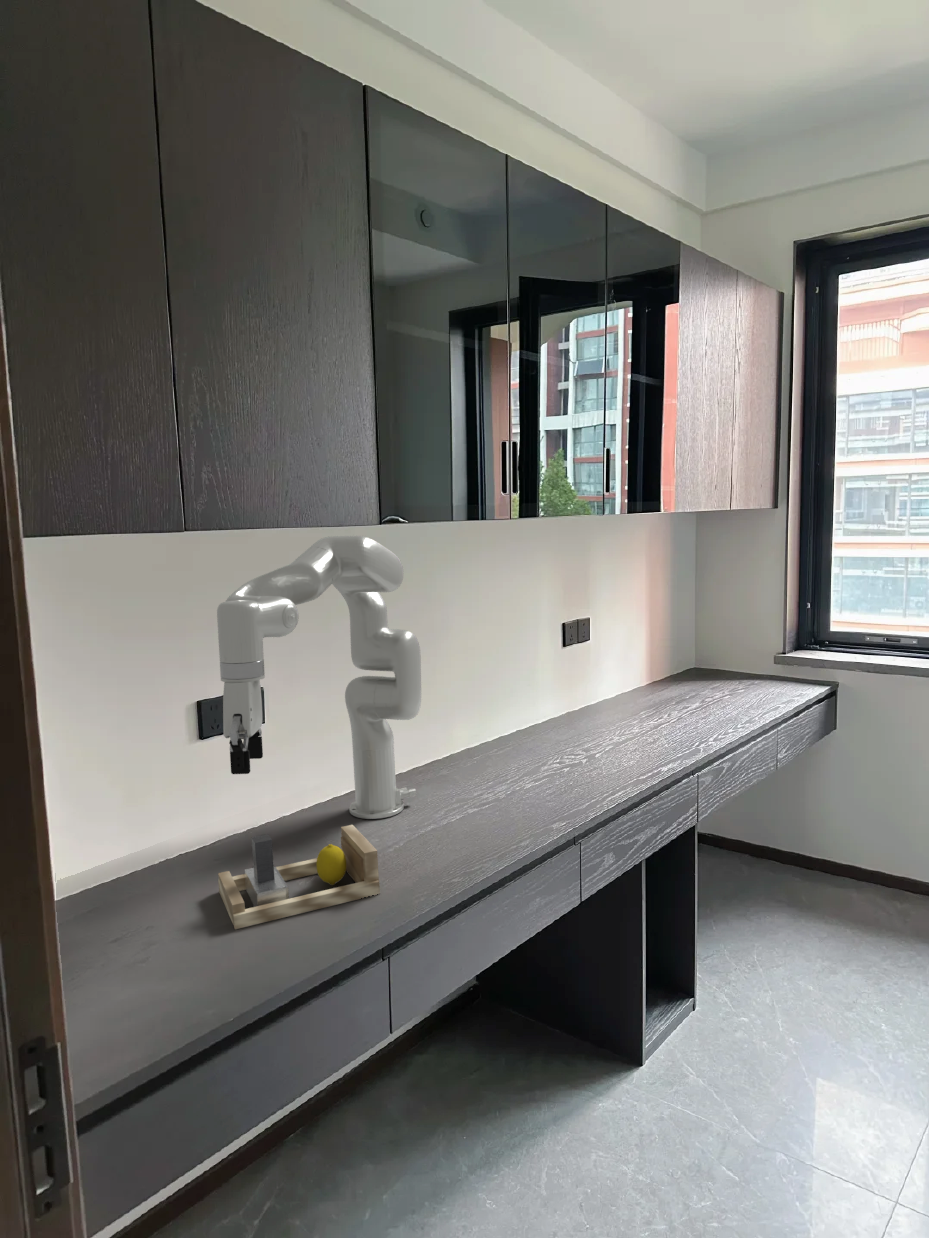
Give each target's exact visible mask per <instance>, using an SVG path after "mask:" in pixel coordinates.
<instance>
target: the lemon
mask: <svg viewBox="0 0 929 1238" xmlns="http://www.w3.org/2000/svg"><path fill="white" fill-rule="evenodd" d="M316 858H317V872H318V873H317V875H318V877H319V878H320V880H321V881H323V882H324V883H327V884H329V885H330V886H334V885H336V884H337V883H338V882H340V881H341V880H342V879H343V877H344V876H345V874H346V873H347V871H346V858H345V855H344V853H343V851H342V850H341V847H339V846H337V845H334V844H332V843H329V844H327V845H326V846H324V847H322V849H321V850H320V851H319V853H318V854H317V857H316Z"/></svg>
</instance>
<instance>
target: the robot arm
mask: <svg viewBox="0 0 929 1238" xmlns="http://www.w3.org/2000/svg"><path fill="white" fill-rule="evenodd" d="M403 580H404V567H403V563H402V562H401V560H400V558H399V557H398V555H397V554H395V553H394V552H393V551H391V550H390V549H389V548H387V547H386V546H384V545H383V544H381V543H379V542H378V541H376V540H374V539H372V538H371V537H368V536H366V535H365V536H364V535H331V536H327V537H323V538H320V539H318V540H317V541H316V542H314V543H313V544H312V545H311V546H310V547H308V548H307V549H305V551H303V552H302V553H301V554H300V556H298V557H297V558H295V560H293V561H292V562H291V563H289V564H288V565H284V566H282V567H279V568H277V569H274V570H272V571H269V572H267V573H265V574H262V575H260V576H257V577H255V578H252V579H250V580H248V581H247V582H245V583H243V584H242V585H241V586H240V587H238V588H237V589H235V590H234V591H233V592H232V593H231V594H230V595H229V597H227V598H226V600H225V601H223V602H221V603H219V604H218V607H217V609H216V619H217V634H218V636H217V637H218V638H217V639H218V655H219V656H218V657H219V670H220V671H219V673H220V681H221V682H223V683H224V684H223V694H222V695H223V696H222V697H223V698H222V703H223V704H222V707H223V708H222V711H223V713H222V719H223V720H222V721H223V723H222V725H223V726H222V729H223V730H222V731H223V737H224V738H226V739H229V761H230V773H231V774H232V775H248V774H250V773H251V760H257V759H258V760H259V759H262V758H263V757H264V755H263V753H264V752H263V737H262V735H263V734H262V729H261V728H262V726H263V699H262V691H261V689H262V688H261V680H263V679H265V677H266V676H265V673H266V672H265V659H264V656H265V655H264V641H263V640H264V638H281V637H286V636H287V635H289V634H291V633H293V632H294V630H295V628H296V627H297V625H298V624H299V617H300V616H299V614H300V613H299V610H298V607H297V606H298V605H301V604H305V603H309V602H312V601H314V600H317V599H318V598H319V597H320V596H321V595H323V593H324V592H325V591H326V590H327V589H328V588H329V587H330V586H333V587H334V588H335V589H336V590H337V591H338V592H339V593H340V595H341V596H342V598H343V599H344V600H345V602H346V606H347V608H348V612H349V627H350V628H349V629H350V630H349V632H350V634H349V635H350V655H351V656H350V657H351V662H352V664H353V665H354V666H355V668H357V669H359V670H364V671H370V672H371V671H373V672H374V671H375V672H393V674H394V676H393V677H392V676H383V675H382V676H380V675H379V676H378V675H363V676H357V677H355V678H353V679H352V680H350V681H349V682H348V684H347V686H346V688H345V692H344V702H345V706H346V710H347V713H348V718H349V724H350V729H351V732H350V733H351V742H352V743H351V744H352V746H351V747H352V758H353V759H352V761H353V762H352V763H353V777H354V780H353V781H354V793H355V797H354V798H355V800H354V801H353V802H351V803H350V805H349V813H350V815H352V816H353V817H356V818H357V819H358V818H359V819H366V820H378V819H385V818H390V817H393V816H395V815H398V814H399V813H400V812H402V811H403V810H404V805H405V803H404V800H405V799H406V798H409V799H410V798H414V797H417V789H416V788H409V789H408V787H406V786H405V787H401V788H398V786H397V782H396V778H397V777H396V764H395V763H396V761H395V741H394V739H395V738H394V734H393V730H392V727H391V726H390V724H389V723H388V721H387V720H395V721H396V720H397V721H409V720H410V721H411V720H413V719H414V718H416V716H417V715H418V714H419V712H420V709H421V704H422V662H421V661H422V660H421V659H422V657H421V647H420V642H419V640H418V638H417V636H416V635H415V633H413V632H412V631H410V630H406V629H397V628H396V629H394V628H389V624H388V609H387V604H386V602H385V599H384V598H383V595H381V593H390V592H395V591H396V590H398V589H399V588H400V586H401V585H402V584H403V583H402V582H403Z"/></svg>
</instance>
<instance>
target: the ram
mask: <svg viewBox="0 0 929 1238" xmlns="http://www.w3.org/2000/svg"><path fill="white" fill-rule="evenodd" d="M251 848H252V850H251V851H252V863H253V867H251V868H246V869H244V874H245V883H246V893H247V895H248V897H249V899H250V901H251V903H252V905H253V907H256V906H260V905H265V904H269V903H273V902H277V901H282V900H286V899H290V895H289V894H290V893H289V886H288V884H287V882H286V881H284V879H283V878H282V876H281V875H280V873H279V871H278V870H277V868H276V867H277V866H275V864H274V854H273V853H274V851H273V839H272V838H271V836H270V835H269V834H268V833H267V834H262V835H256V836H252V837H251Z"/></svg>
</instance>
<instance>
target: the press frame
mask: <svg viewBox="0 0 929 1238" xmlns="http://www.w3.org/2000/svg"><path fill="white" fill-rule="evenodd" d="M340 834H341V836H340V846H341V847H340V849H341V850H342V851H343V853H344V855H345V858H346V873H348V875H349V876H350V877H351V879H352V880H353V881H354V882H355V883H350V884H346V885H341V886H338V887H337V886H336V887H333V888H329V889H325V890H324V889H323V890H320V891H317V892H316V891H315V892H312V893H307V894H304V895H300V896H295V897H289V899H286V900H282V901H277V902H273V903H269V904H265V905H260V906H256V907H254V906H253V907H249V908H246V907H245V905H246V904H245V901H244V899H243V896H242V894H241V893H240V892H241V891H245V890H246V883H245V873H244V874H237V875H233V876H232V873H231V872H230V870H226V871H222V872H218V874H217V876H218V880H217V883H218V892H219V894H220V898H221V900H222V902H223V904H224V907H225V909H226V912H227V913H228V916H229V918H230V921H231V923H232V925H233V927H234V928H233V929H234V930H238V929H243V928H247V927H250V926H255V925H259V924H262V923H266V922H268V923H269V922H272V921H275V920H279V919H284V918H286V917H288V918H289V917H291V916H292V917H293V916H295V915H300V914H304V913H307V912H311V911H312V912H313V911H315V910H321V909H323V908H327V907H328V908H329V907H333V906H336V905H340V904H345V903H348V902H352V901H356V900H357V901H358V900H360V899H361V898H362V899H365V898H364V897H366V898H369V897H368V896H370V897H373V896H372V895H374V896H377V894H378V895H380V894H381V891H380V890H381V887H380V877H379V858H378V856H379V855H378V850H377V849H376V848H375V846H374V845H373V844H372V843H371V842H370V841H369V840H368V839H367V838H366V837H365V836H364V835H363V834H362V833H361V831H359V830H358V828H357V827H355V825H353V824H349V825H345V826H340ZM275 867H276V868H277V870H278V871H279V873H280V875H281V876H282V878H283V879H284V881H285V882H287V881H289V880H294V879H298V878H303V877H308V876H313V875H316V874H317V875H318V872H317V857H316V858H311V859H307V860H303V861H297V862H294V863H293V862H292V863H289V864H285V865H284V864H283V865H280V866H279V865H278V866H275ZM362 899H361V900H362Z"/></svg>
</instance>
